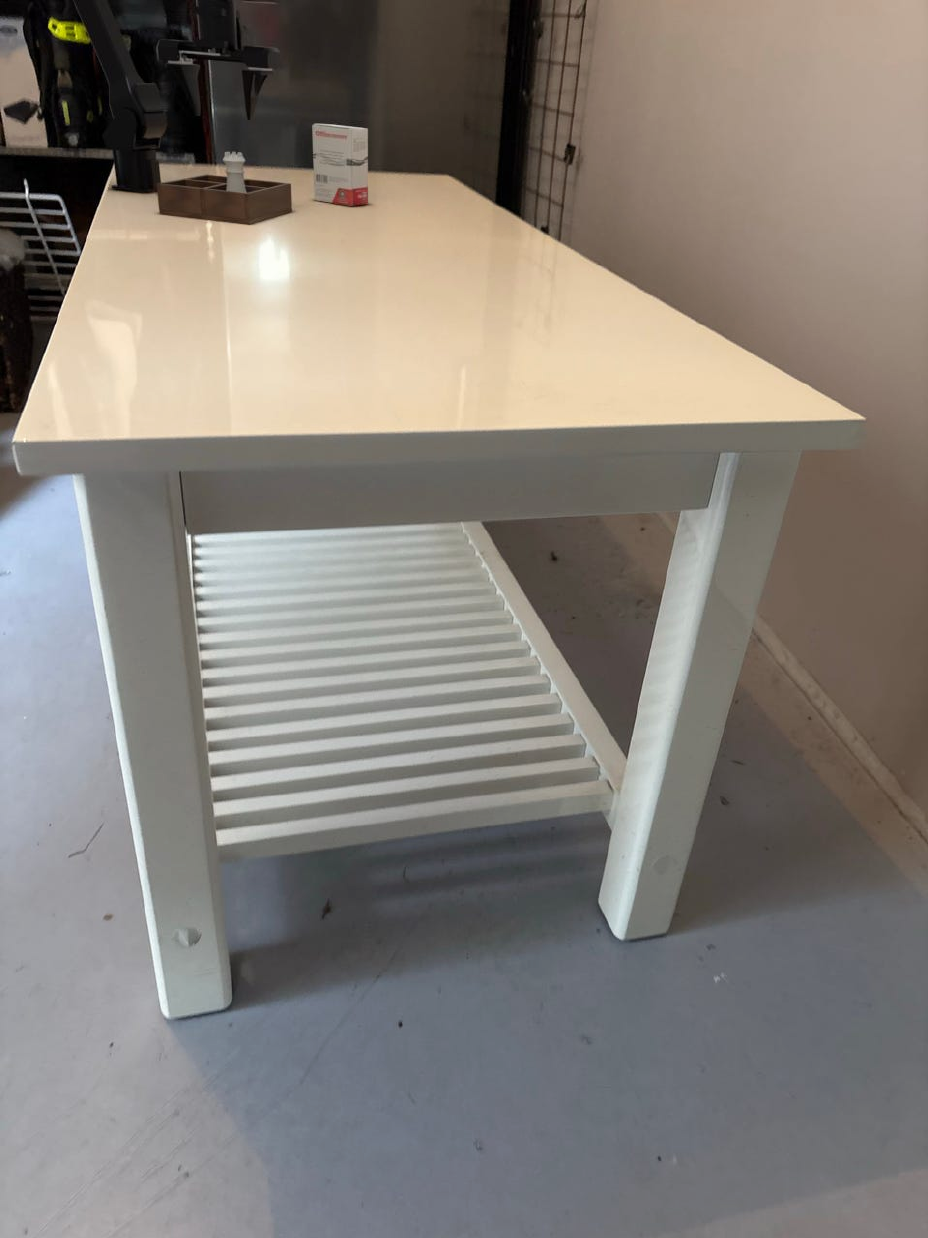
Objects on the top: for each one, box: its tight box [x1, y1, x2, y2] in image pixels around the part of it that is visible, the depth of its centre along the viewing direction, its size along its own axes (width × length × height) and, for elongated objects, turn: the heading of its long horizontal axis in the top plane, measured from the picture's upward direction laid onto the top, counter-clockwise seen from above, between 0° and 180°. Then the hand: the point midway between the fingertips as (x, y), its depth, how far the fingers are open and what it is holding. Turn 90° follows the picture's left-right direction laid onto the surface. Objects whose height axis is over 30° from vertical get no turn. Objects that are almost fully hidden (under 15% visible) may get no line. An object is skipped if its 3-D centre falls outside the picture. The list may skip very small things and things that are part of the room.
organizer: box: [156, 174, 293, 225], centre depth 139 cm, size 15×15×4 cm
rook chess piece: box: [222, 151, 247, 193], centre depth 134 cm, size 4×4×8 cm
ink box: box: [311, 123, 369, 207], centre depth 153 cm, size 9×5×12 cm, turn 58°
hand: (223, 117), depth 144 cm, fingers open, 9 cm apart
